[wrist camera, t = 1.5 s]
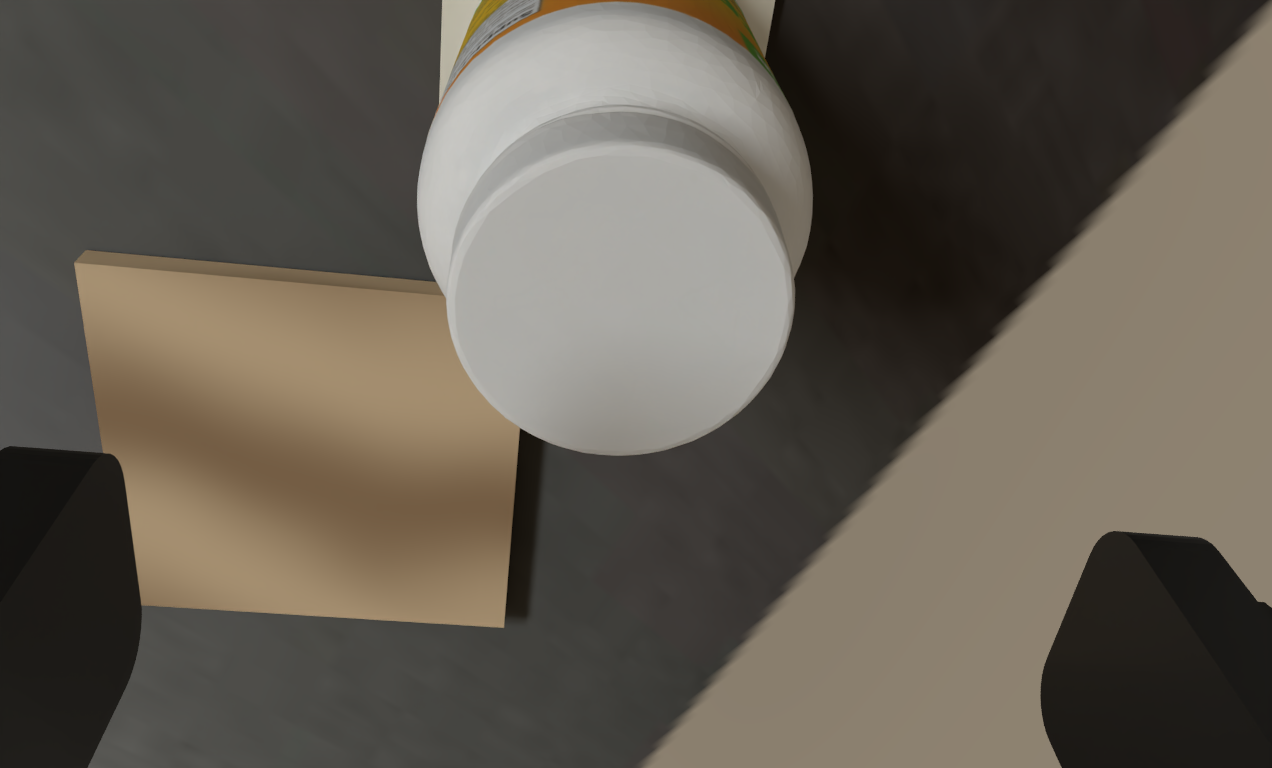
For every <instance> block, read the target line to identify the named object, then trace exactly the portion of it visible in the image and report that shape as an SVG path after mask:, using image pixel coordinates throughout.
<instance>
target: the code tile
mask: <svg viewBox="0 0 1272 768" xmlns="http://www.w3.org/2000/svg"><path fill="white" fill-rule="evenodd" d="M481 1H482V0H442V29H441V62H440V95H439V104H440V101H441V99H442V96H443V93H444V91H445V88H446V85H447V83H448V80H449V77H450V74H451V72H452V69H453V66H454V64H455V61H456V58H457V56H458V53H459V51H460V48H461V45H462V43H463V40H464V38H465V35H466V33H467V30H468V27H469V24H470V22H471V20H472V18H473V15H474V13H475V11H476V9H477V8H478V6H479V4H480V2H481ZM736 1H737V3H738V5H739V7H740V9H741V10H742V12H743V14H744V17H745V19H746V21H747V23H748V25H749V27H750V29H751V31H752V33H753V35H754V37H755V39H756V41H757V43H758V45H759V47H760V49H761V51H762V53H763V55H764V57H765V55H766V49H767V44H768V38H769V32H770V27H771V21H772V16H773V10H774V5H775V0H736Z"/></svg>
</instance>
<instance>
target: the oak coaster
mask: <svg viewBox="0 0 1272 768" xmlns="http://www.w3.org/2000/svg"><path fill="white" fill-rule="evenodd" d="M74 264H75V271H76V277H77V284H78V290H79V297H80V304H81V310H82V317H83V323H84V330H85V336H86V343H87V350H88V356H89V363H90V369H91V376H92V382H93V389H94V396H95V402H96V409H97V415H98V422H99V428H100V435H101V441H102V448H103V453H109V454H112V455H114V456H115V457H116V458H117V459H118V461H119V463H120V465H121V468H122V471H123V475H124V480H125V487H126V494H127V502H128V509H129V516H130V524H131V531H132V538H133V546H134V553H135V560H136V568H137V575H138V582H139V590H140V597H141V605H148V606H164V607H180V608H196V609H212V610H228V611H244V612H260V613H276V614H292V615H309V616H325V617H341V618H357V619H373V620H389V621H405V622H421V623H437V624H453V625H469V626H485V627H501V628H504V620H505V609H506V597H507V584H508V572H509V559H510V547H511V534H512V522H513V509H514V497H515V484H516V472H517V459H518V447H519V434H520V427H518V426H517V425H515V424H514V423H512V422H511V421H509V420H508V419H507V418H505V417H504V416H503V415H502V414H501V413H500V412H499V411H497V410H496V409H495V408H494V407H493V406H492V405H491V404H490V403H489V402H488V401H487V400H486V398H485V397H484V396H483V395H482V394H481V393H480V392H479V390H478V389H477V388H476V386H475V385H474V384H473V382H472V381H471V379H470V377H469V376H468V374H467V372H466V371H465V369H464V368H463V366H462V364H461V362H460V359H459V357H458V355H457V353H456V350H455V347H454V344H453V341H452V338H451V334H450V329H449V324H448V319H447V306H446V297H445V296H444V294H443V293H442V291H441V289H440V287H439V285H438V283H437V282H431V281H420V280H409V279H398V278H387V277H376V276H365V275H354V274H343V273H332V272H321V271H310V270H299V269H288V268H277V267H266V266H255V265H244V264H233V263H222V262H211V261H200V260H189V259H178V258H167V257H156V256H145V255H134V254H123V253H112V252H101V251H90V250H86V251H85V252H84V253H83V254H82V255H81V256H80V257H79V258H78V259H77V260H76V261H75V262H74Z"/></svg>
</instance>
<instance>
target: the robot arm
mask: <svg viewBox="0 0 1272 768" xmlns="http://www.w3.org/2000/svg"><path fill="white" fill-rule="evenodd" d="M141 619H142V607H141V597H140V590H139V582H138V575H137V568H136V560H135V553H134V546H133V538H132V531H131V524H130V516H129V509H128V502H127V494H126V487H125V480H124V475H123V471H122V468H121V465H120V463H119V461H118V459H117V458H116V457H115V456H114V455H112V454H109V453H95V452H82V451H68V450H55V449H42V448H28V447H15V446H9V447H6V448H4V449H2V450H1V451H0V768H87V767H88V765H89V763H90V761H91V759H92V757H93V755H94V753H95V751H96V749H97V747H98V744H99V742H100V740H101V738H102V736H103V734H104V732H105V730H106V728H107V726H108V724H109V721H110V719H111V717H112V715H113V713H114V711H115V709H116V707H117V705H118V703H119V701H120V699H121V696H122V694H123V692H124V690H125V688H126V686H127V684H128V681H129V679H130V676H131V673H132V670H133V667H134V664H135V660H136V656H137V651H138V646H139V640H140V632H141ZM1041 709H1042V716H1043V722H1044V726H1045V729H1046V733H1047V735H1048V738H1049V741H1050V743H1051V745H1052V747H1053V749H1054V752H1055V754H1056V756H1057V758H1058V760H1059V763H1060V765H1061V767H1062V768H1272V608H1271V607H1270V606H1268V605H1267V604H1266V603H1264V602H1257V600H1256V599H1255V598H1254V596H1253V595H1252V594H1251V593H1250V591H1249V590H1248V589H1247V587H1246V586H1245V585H1244V583H1243V582H1242V581H1241V580H1240V578H1239V577H1238V576H1237V574H1236V573H1235V572H1234V570H1233V569H1232V568H1231V567H1230V565H1229V564H1228V563H1227V561H1226V560H1225V559H1224V557H1223V556H1222V555H1221V554H1220V552H1219V551H1218V550H1217V549H1216V548H1215V547H1214V546H1213V545H1212V544H1211V543H1209V542H1208V541H1206V540H1204V539H1202V538H1198V537H1186V536H1173V535H1159V534H1146V533H1145V534H1144V533H1132V532H1119V531H1113V532H1109V533H1107V534H1105V535H1104V536H1102V537H1101V538H1100V539H1099V540H1098V542H1097V543H1096V544H1095V546H1094V548H1093V550H1092V552H1091V554H1090V556H1089V558H1088V561H1087V563H1086V566H1085V568H1084V570H1083V573H1082V575H1081V578H1080V580H1079V582H1078V585H1077V587H1076V590H1075V592H1074V594H1073V597H1072V599H1071V602H1070V604H1069V607H1068V609H1067V611H1066V614H1065V616H1064V619H1063V621H1062V623H1061V626H1060V628H1059V631H1058V633H1057V635H1056V638H1055V640H1054V643H1053V645H1052V648H1051V650H1050V652H1049V655H1048V657H1047V660H1046V663H1045V666H1044V670H1043V674H1042V681H1041Z"/></svg>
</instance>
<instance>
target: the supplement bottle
mask: <svg viewBox="0 0 1272 768" xmlns="http://www.w3.org/2000/svg"><path fill="white" fill-rule="evenodd" d="M812 207H813V190H812V177H811V169H810V164H809V159H808V154H807V150H806V147H805V143H804V140H803V137H802V134H801V132H800V129H799V126H798V124H797V122H796V119H795V117H794V114H793V111H792V109H791V107H790V105H789V104H788V102H787V100H786V98H785V96H784V94H783V92H782V90H781V88H780V86H779V85H778V82H777V81H776V79H775V77H774V75H773V73H772V71H771V69H770V67H769V65H768V63H767V61H766V59H765V57H764V55H763V53H762V51H761V49H760V47H759V45H758V43H757V41H756V39H755V37H754V35H753V33H752V31H751V29H750V27H749V25H748V23H747V21H746V19H745V17H744V14H743V12H742V10H741V9H740V7H739V5H738V3H737V1H736V0H482V1H481V2H480V4H479V6H478V8H477V9H476V11H475V13H474V15H473V18H472V20H471V22H470V24H469V27H468V30H467V33H466V35H465V38H464V40H463V43H462V45H461V48H460V51H459V53H458V56H457V58H456V61H455V64H454V66H453V69H452V72H451V74H450V77H449V80H448V83H447V85H446V88H445V91H444V93H443V96H442V99H441V101H440V104H439V106H438V109H437V111H436V113H435V117H434V119H433V122H432V125H431V128H430V130H429V133H428V136H427V141H426V145H425V148H424V152H423V156H422V161H421V166H420V172H419V179H418V191H417V210H418V222H419V229H420V234H421V239H422V243H423V248H424V251H425V254H426V257H427V260H428V263H429V267H430V269H431V271H432V273H433V275H434V278H435V280H436V281H437V283H438V285H439V287H440V289H441V291H442V293H443V294H444V296H445V297H446V306H447V319H448V324H449V329H450V334H451V338H452V341H453V344H454V347H455V350H456V353H457V355H458V357H459V359H460V362H461V364H462V366H463V368H464V369H465V371H466V372H467V374H468V376H469V377H470V379H471V381H472V382H473V384H474V385H475V386H476V388H477V389H478V390H479V392H480V393H481V394H482V395H483V396H484V397H485V398H486V400H487V401H488V402H489V403H490V404H491V405H492V406H493V407H494V408H495V409H496V410H497V411H499V412H500V413H501V414H502V415H503V416H504V417H505V418H507V419H508V420H509V421H511V422H512V423H514V424H515V425H517V426H518V427H520V428H521V429H523V430H525V431H526V432H528V433H530V434H532V435H534V436H536V437H538V438H540V439H542V440H544V441H547V442H549V443H551V444H554V445H557V446H560V447H564V448H567V449H571V450H575V451H579V452H583V453H591V454H600V455H615V456H624V455H639V454H646V453H652V452H658V451H663V450H667V449H670V448H673V447H676V446H679V445H682V444H685V443H688V442H691V441H694V440H696V439H698V438H700V437H702V436H704V435H706V434H708V433H709V432H711V431H713V430H715V429H716V428H718V427H720V426H721V425H723V424H724V423H725V422H727V421H728V420H730V419H731V418H732V417H734V416H735V415H737V414H738V413H740V411H741V410H742V409H743V408H744V407H745V406H747V405H748V404H749V403H750V402H751V401H752V400H753V399H754V398H755V397H756V395H757V394H758V393H759V392H760V391H761V389H762V388H763V387H764V385H765V384H766V383H767V381H768V380H769V379H770V377H771V376H772V374H773V372H774V370H775V368H776V366H777V364H778V363H779V361H780V359H781V357H782V355H783V352H784V350H785V348H786V344H787V341H788V337H789V334H790V331H791V327H792V322H793V316H794V310H795V284H794V277H795V275H796V272H797V270H798V268H799V266H800V264H801V261H802V258H803V255H804V253H805V250H806V247H807V243H808V239H809V234H810V228H811V220H812Z"/></svg>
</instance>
